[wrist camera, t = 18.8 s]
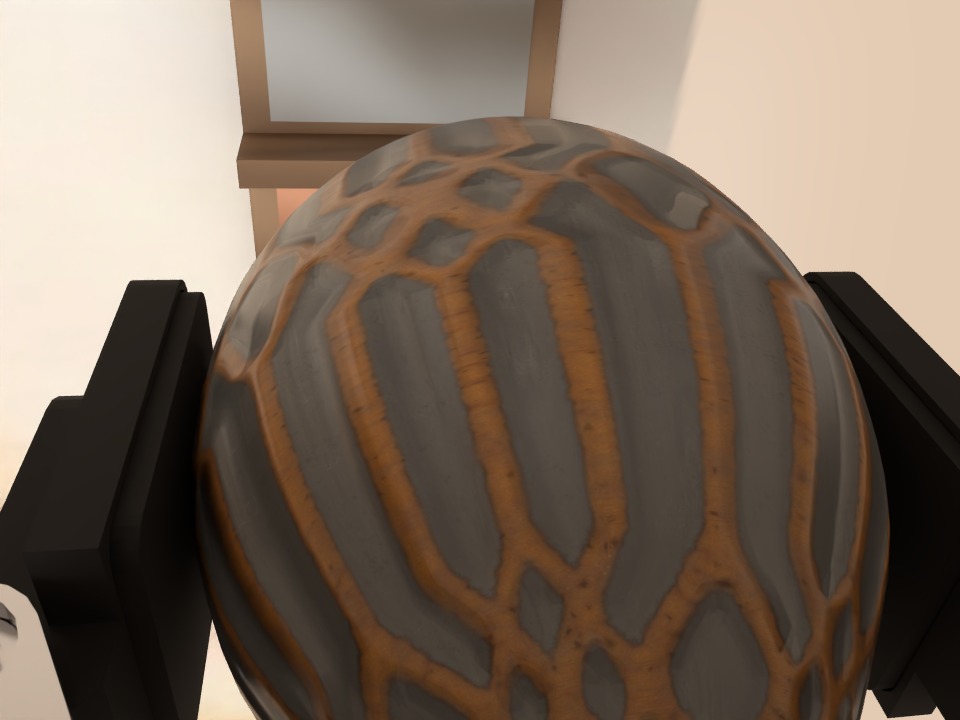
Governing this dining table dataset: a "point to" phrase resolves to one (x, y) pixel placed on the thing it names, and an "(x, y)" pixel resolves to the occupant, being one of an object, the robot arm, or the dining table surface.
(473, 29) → the slot rack
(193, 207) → the dining table surface
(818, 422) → the vase
